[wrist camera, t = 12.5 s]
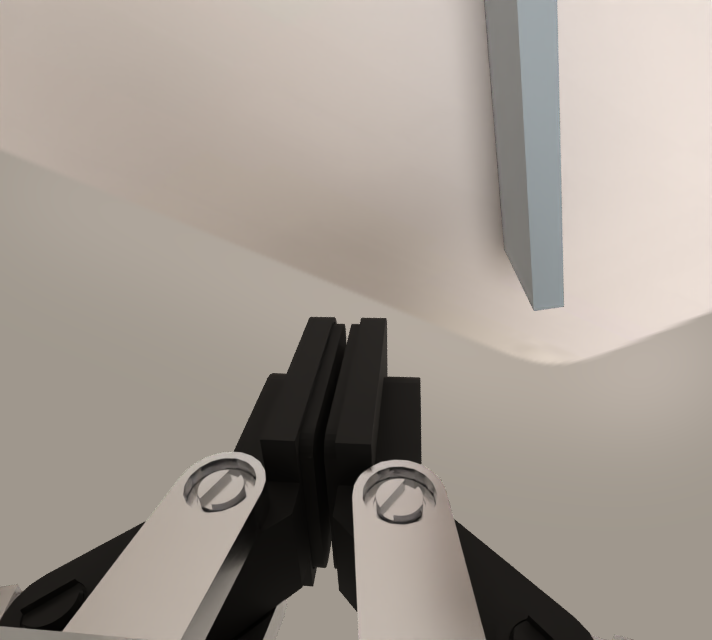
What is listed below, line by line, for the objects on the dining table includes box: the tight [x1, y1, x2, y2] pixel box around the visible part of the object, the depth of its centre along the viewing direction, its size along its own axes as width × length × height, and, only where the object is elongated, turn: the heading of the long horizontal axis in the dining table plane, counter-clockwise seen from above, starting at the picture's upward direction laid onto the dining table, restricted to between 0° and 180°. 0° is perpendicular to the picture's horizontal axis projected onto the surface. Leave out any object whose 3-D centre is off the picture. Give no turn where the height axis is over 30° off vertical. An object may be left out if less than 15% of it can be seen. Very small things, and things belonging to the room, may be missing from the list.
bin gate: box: [484, 0, 564, 311], centre depth 17 cm, size 14×1×6 cm, turn 12°
